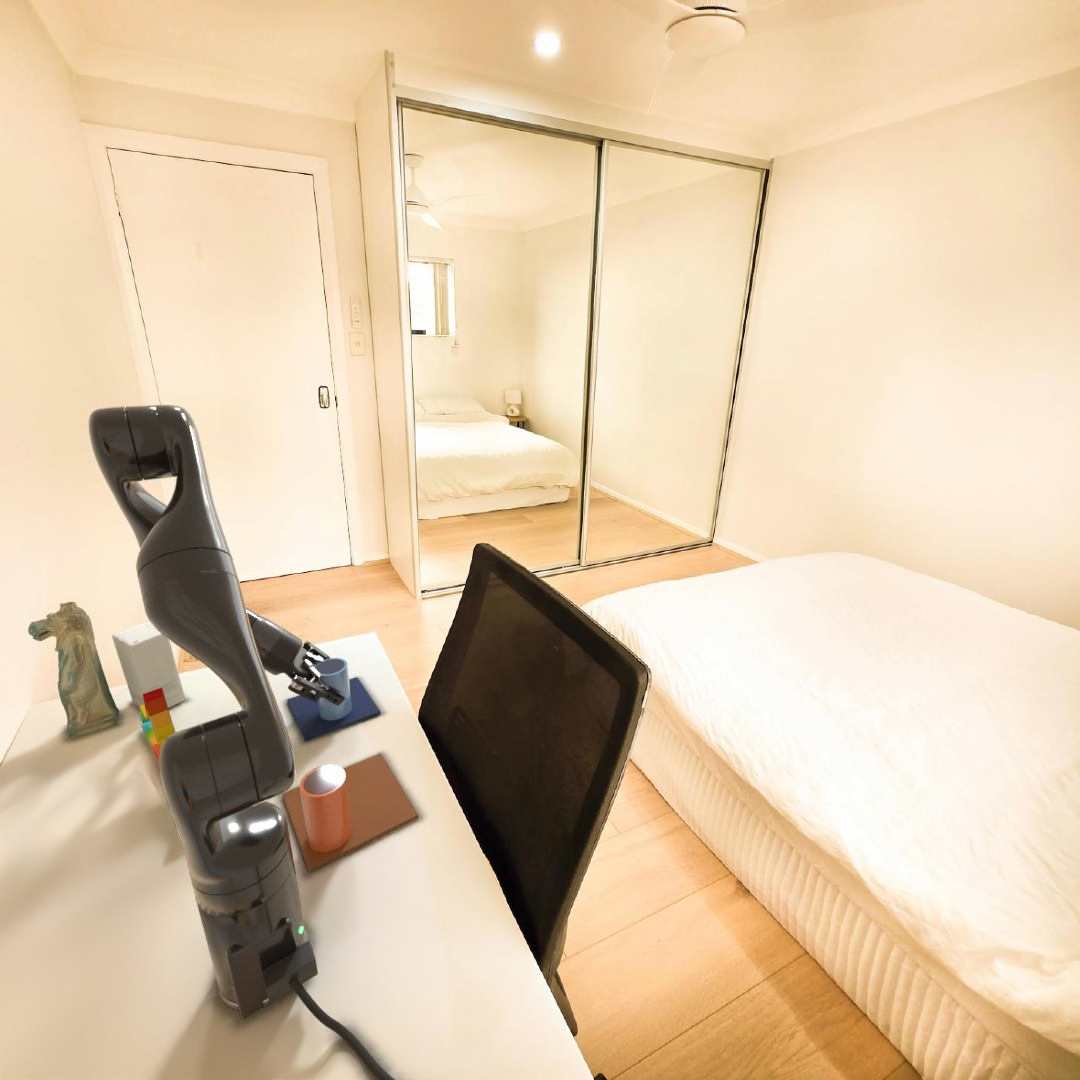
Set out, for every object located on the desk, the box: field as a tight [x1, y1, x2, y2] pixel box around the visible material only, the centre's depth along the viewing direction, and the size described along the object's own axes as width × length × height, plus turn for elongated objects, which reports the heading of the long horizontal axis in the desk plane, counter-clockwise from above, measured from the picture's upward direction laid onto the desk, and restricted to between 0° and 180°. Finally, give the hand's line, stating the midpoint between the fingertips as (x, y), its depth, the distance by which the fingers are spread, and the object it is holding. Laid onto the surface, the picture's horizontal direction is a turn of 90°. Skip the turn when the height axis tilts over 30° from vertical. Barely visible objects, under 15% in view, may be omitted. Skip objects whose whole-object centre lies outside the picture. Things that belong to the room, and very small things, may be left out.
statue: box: [27, 601, 120, 740], centre depth 94 cm, size 7×8×25 cm
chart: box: [138, 688, 176, 763], centre depth 85 cm, size 30×3×15 cm, turn 47°
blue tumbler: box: [316, 657, 352, 720], centre depth 102 cm, size 6×6×10 cm
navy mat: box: [286, 676, 382, 742], centre depth 105 cm, size 14×14×1 cm
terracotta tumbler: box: [299, 764, 352, 852], centre depth 75 cm, size 6×6×10 cm
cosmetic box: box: [111, 621, 186, 709], centre depth 102 cm, size 8×7×16 cm
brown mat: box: [282, 752, 420, 873], centre depth 82 cm, size 16×16×1 cm
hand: (343, 690), depth 102 cm, fingers closed on blue tumbler, 6 cm apart
